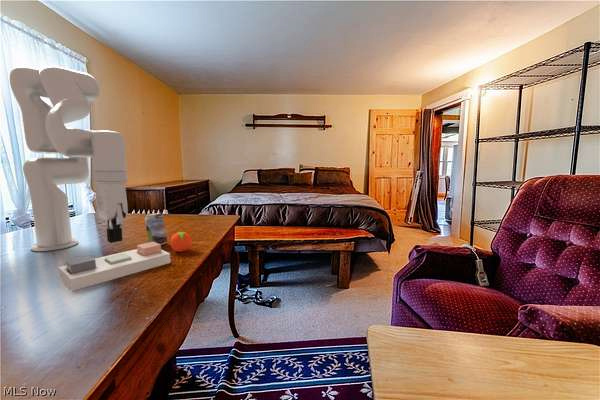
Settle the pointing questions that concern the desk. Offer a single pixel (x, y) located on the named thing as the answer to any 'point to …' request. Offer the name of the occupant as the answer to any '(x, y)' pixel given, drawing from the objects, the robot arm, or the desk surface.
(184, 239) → the clementine
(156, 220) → the beverage can
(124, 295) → the desk surface
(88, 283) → the panel
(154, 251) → the terracotta button
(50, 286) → the desk surface
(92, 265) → the charcoal button
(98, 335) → the desk surface
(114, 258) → the sage button
